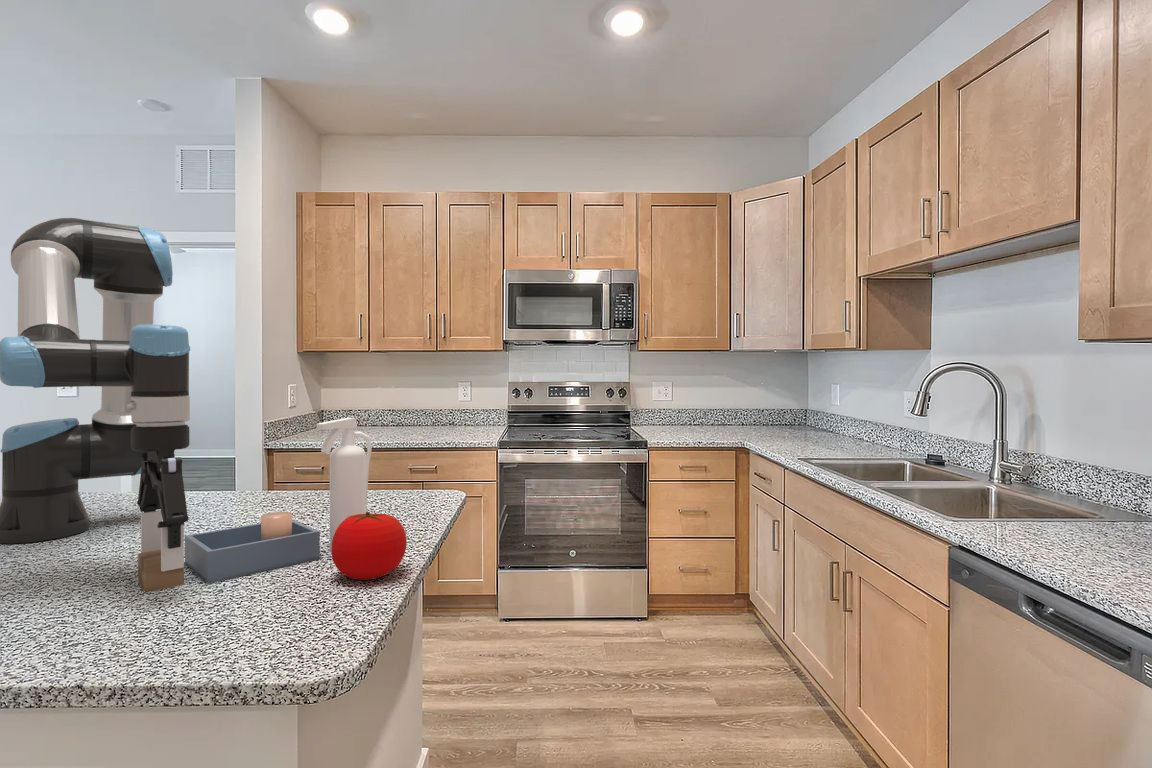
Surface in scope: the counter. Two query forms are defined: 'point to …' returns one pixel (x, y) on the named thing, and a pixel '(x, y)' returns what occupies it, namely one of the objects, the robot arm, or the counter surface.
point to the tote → (248, 551)
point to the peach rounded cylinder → (276, 525)
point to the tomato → (368, 545)
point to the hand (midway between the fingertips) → (161, 560)
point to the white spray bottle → (346, 471)
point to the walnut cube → (156, 573)
